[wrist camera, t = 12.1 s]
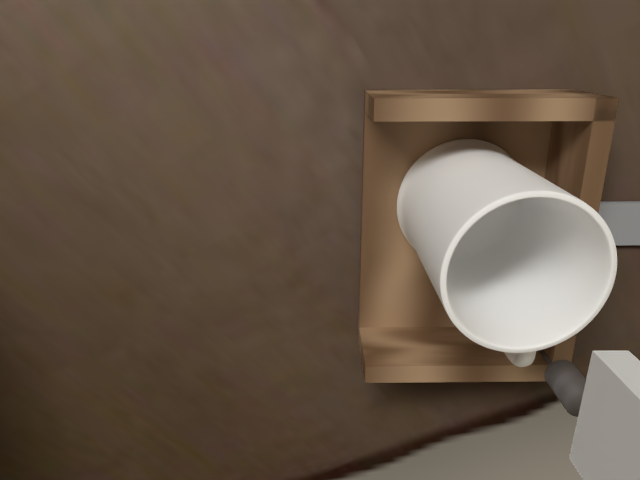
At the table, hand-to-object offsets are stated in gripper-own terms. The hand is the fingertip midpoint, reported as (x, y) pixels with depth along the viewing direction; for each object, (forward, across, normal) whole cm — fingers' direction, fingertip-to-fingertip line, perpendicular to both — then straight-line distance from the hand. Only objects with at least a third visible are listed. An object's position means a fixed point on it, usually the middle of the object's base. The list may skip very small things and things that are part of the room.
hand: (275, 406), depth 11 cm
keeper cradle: (+25, +11, -4) cm, 28 cm away
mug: (+25, +12, -4) cm, 28 cm away
